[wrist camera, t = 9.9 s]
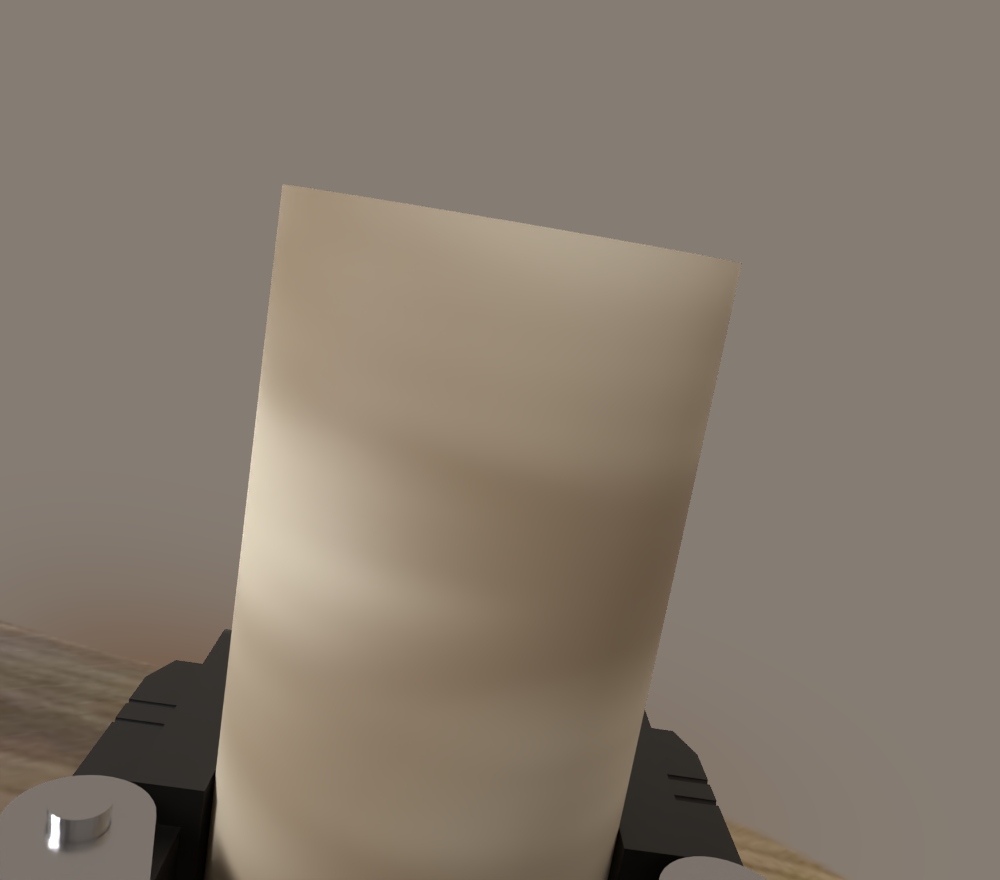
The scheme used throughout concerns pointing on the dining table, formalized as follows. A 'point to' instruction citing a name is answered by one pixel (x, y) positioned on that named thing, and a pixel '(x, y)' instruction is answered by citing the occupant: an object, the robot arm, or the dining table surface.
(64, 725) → the dining table surface
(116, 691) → the dining table surface
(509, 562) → the cylindrical post
